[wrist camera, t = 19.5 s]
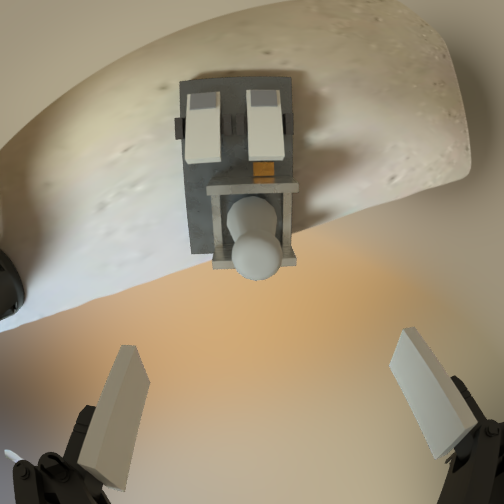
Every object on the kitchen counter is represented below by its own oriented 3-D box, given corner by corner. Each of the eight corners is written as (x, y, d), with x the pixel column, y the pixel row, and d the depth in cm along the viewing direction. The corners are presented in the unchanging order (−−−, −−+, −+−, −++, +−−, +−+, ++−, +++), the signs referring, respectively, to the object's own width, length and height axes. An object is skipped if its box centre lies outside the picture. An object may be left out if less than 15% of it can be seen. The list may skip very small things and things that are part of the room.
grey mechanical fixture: (194, 246, 39) (185, 272, 32) (183, 84, 30) (169, 73, 23) (287, 242, 39) (298, 267, 32) (287, 80, 30) (300, 68, 23)
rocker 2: (248, 160, 29) (249, 155, 27) (246, 96, 28) (246, 88, 26) (282, 160, 29) (285, 155, 27) (277, 96, 28) (279, 88, 27)
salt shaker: (220, 202, 34) (210, 242, 22) (264, 185, 33) (280, 216, 21) (238, 243, 36) (238, 300, 24) (280, 227, 35) (301, 278, 24)
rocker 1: (187, 164, 28) (184, 158, 26) (189, 101, 28) (187, 93, 26) (221, 161, 28) (219, 156, 27) (220, 98, 28) (219, 90, 27)
